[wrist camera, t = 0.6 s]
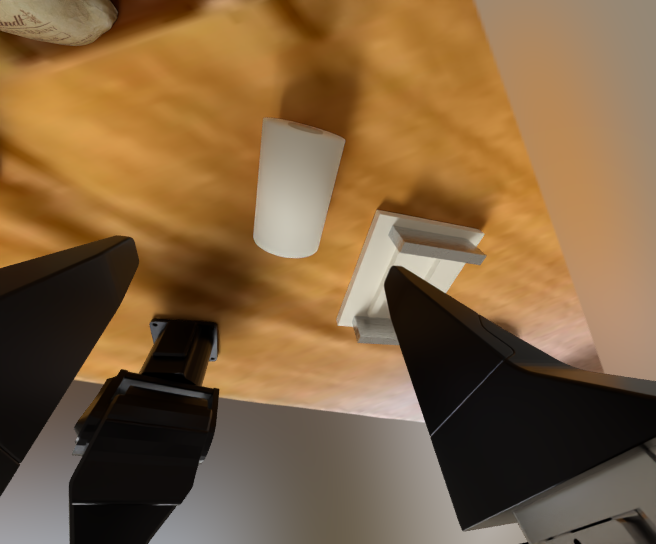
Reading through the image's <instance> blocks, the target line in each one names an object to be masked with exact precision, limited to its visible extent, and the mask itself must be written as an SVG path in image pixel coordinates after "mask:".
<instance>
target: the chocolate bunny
mask: <svg viewBox="0 0 656 544" xmlns="http://www.w3.org/2000/svg"><path fill="white" fill-rule="evenodd" d="M117 14H118V12H117V10H116V8H115V7H114V5H113V4H112V3H111V1H110V0H0V30H1V31H4V32H7V33H11V34H15V35H18V36H22V37H26V38H29V39H34V40H38V41H44V42H50V43H56V44H62V45H69V46H80V45H86V44H89V43H92V42H94V41H95V40H96V39H97V38H98V37H99V36H100V35H102V34H103V33H104V32H106V31H108V30H109V29H110V28H111V27H112V24H113V23H114V22H115V21H116V19H117Z"/></svg>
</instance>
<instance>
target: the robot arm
mask: <svg viewBox="0 0 656 544" xmlns="http://www.w3.org/2000/svg"><path fill="white" fill-rule="evenodd" d="M138 265H139V258H138V254H137V250H136V246H135V242H134V240H133V238H131V237H127V236H112V237H109V238H105V239H102V240H98V241H95V242H91V243H88V244H84V245H81V246H77V247H74V248H70V249H67V250H63V251H60V252H56V253H53V254H49V255H46V256H42V257H38V258H35V259H31V260H28V261H24V262H21V263H17V264H14V265H10V266H7V267H3V268H0V496H1V495H2V493H3V492H4V490H5V488H6V487H7V485H8V483H9V482H10V480H11V479H12V477H13V476H14V474H15V472H16V471H17V469H18V467H19V466H20V464H19V463H21V462H22V461H23V459H24V457H25V456H26V454H27V453H28V451H29V450H30V448H31V446H32V445H33V443H34V441H35V440H36V438H37V437H38V435H39V434H40V432H41V430H42V429H43V427H44V426H45V424H46V422H47V421H48V419H49V418H50V416H51V415H52V413H53V411H54V410H55V408H56V407H57V405H58V403H59V402H60V400H61V399H62V397H63V395H64V394H65V392H66V391H67V389H68V387H69V386H70V384H71V382H72V381H73V380H74V378H75V376H76V375H77V373H78V372H79V370H80V368H81V367H82V365H83V364H84V362H85V360H86V359H87V357H88V356H89V354H90V352H91V351H92V349H93V348H94V346H95V344H96V343H97V341H98V340H99V338H100V336H101V335H102V333H103V332H104V330H105V329H106V327H107V325H108V324H109V322H110V321H111V319H112V317H113V316H114V314H115V313H116V311H117V309H118V308H119V306H120V304H121V302H122V300H123V298H124V296H125V294H126V292H127V290H128V287H129V285H130V283H131V281H132V279H133V276H134V274H135V272H136V270H137V268H138ZM384 290H385V295H386V299H387V304H388V309H389V313H390V318H391V321H392V324H393V327H394V330H395V333H396V336H397V339H398V342H399V345H400V348H401V351H402V354H403V357H404V360H405V363H406V366H407V369H408V372H409V375H410V378H411V381H412V384H413V387H414V390H415V393H416V396H417V399H418V402H419V405H420V408H421V411H422V414H423V417H424V420H425V423H426V426H427V428H428V431H429V435H430V436H431V440H432V444H433V447H434V450H435V453H436V455H437V459H438V462H439V465H440V467H441V471H442V474H443V477H444V480H445V483H446V486H447V489H448V491H449V494H450V497H451V500H452V503H453V506H454V509H455V512H456V515H457V518H458V521H459V524H460V526H461V528H462V531H470V530H476V529H481V528H488V527H493V526H499V525H505V524H511V523H518V525H519V527H520V528H521V530H522V532H523V534H524V536H525V538H526V540H527V542H526V543H522V544H656V381H650V380H644V379H637V378H630V377H623V376H616V375H610V374H603V373H596V372H590V371H585V370H581V369H578V368H575V367H572V366H570V365H567V364H565V363H563V362H561V361H559V360H557V359H555V358H553V357H552V356H550V355H548V354H546V353H545V352H543V351H541V350H539V349H538V348H536V347H534V346H532V345H530V344H529V343H527V342H525V341H523V340H522V339H520V338H518V337H516V336H515V335H513V334H511V333H509V332H508V331H506V330H504V329H502V328H501V327H499V326H498V325H496V324H494V323H493V322H491V321H489V320H488V319H486V318H484V317H483V316H481V315H478V313H476V312H475V311H473V310H472V309H470V308H468V307H467V306H465V305H464V304H462V303H460V302H459V301H457V300H455V299H454V298H452V297H451V296H449V295H447V294H446V293H444V292H443V291H441V290H439V289H438V288H436V287H435V286H433V285H431V284H430V283H428V282H427V281H425V280H423V279H422V278H420V277H419V276H417V275H415V274H414V273H412V272H411V271H409V270H407V269H406V268H404V267H402V266H395V265H393V266H391V268H390V270H389V272H388V274H387V277H386V279H385V282H384ZM149 325H150V329H151V334H152V338H153V342H154V345H153V347H152V349H151V351H150V353H149V355H148V357H147V359H146V360H145V362H144V364H143V366H142V368H141V370H140V372H139V374H137V373H132V372H128V370H123V369H121V370H120V372H119V373H118V375H117V376H115V377H113V378H109V379H107V380H106V382H105V383H104V385H103V387H102V388H101V390H100V392H99V393H98V395H97V396H96V398H95V399H94V400H93V402H92V403H91V404H90V406H89V407H88V408H87V410H86V411H85V412H84V413H83V415H82V416H81V417H80V419H79V420H78V422H77V423H76V425H75V427H74V430H75V432H76V434H77V439H76V441H75V443H77V444H76V446H75V448H74V451H73V453H72V455H78V456H82V459H81V460H80V462H79V464H78V466H77V468H76V469H75V472H74V473H73V475H72V477H71V479H70V482H69V536H70V544H148V543H149V541H150V540H151V539H152V537H153V536H154V535H155V533H156V532H157V531H158V529H159V528H160V527H161V526H162V524H163V523H164V521H165V520H166V519H167V518H168V517H169V515H170V514H171V513H172V511H173V510H174V509H175V507H176V506H177V505H180V504H181V503H182V502H183V500H184V499H185V497H186V496H187V494H188V493H189V492H190V490H191V489H192V487H193V483H194V479H195V475H196V470H197V468H198V464H201V463H202V462H203V461H204V459H205V457H206V455H207V453H208V451H209V448H210V445H211V443H212V439H213V436H214V432H215V427H216V419H217V409H218V398H219V389H217V388H213V389H212V388H207V387H202V383H203V380H204V376H205V373H206V369H207V366H208V362H209V361H216V360H217V357H218V334H217V324H216V323H213V322H199V321H183V320H168V319H152V320H151V322H150V324H149Z"/></svg>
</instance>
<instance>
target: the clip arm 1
mask: <svg viewBox="0 0 656 544" xmlns="http://www.w3.org/2000/svg"><path fill="white" fill-rule="evenodd" d="M352 324H353V328H354V331H355V335H356V339H357V342H358V343H371V344H389V345H399V342H398V339H397V336H396V333H395V330H394V327H393V324H392V321H391V319H389V318H377V317H376V318H370V317H365V316H354V318H353V320H352Z"/></svg>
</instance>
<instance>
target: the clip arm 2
mask: <svg viewBox="0 0 656 544" xmlns="http://www.w3.org/2000/svg"><path fill="white" fill-rule="evenodd" d="M388 236H389V237H390V239H391V240H392V242H393V243H394V245H395V246H396V248H397V249H398V251H399V252H400V253H404V254H411V255H418V256H424V257H431V258H437V259H444V260H450V261H457V262H463V263H470V264H476V265H481V263H482V262H483V260H484V259H485V258H486V256H487V255H485V254H484V253H483V252H482V251H481V250H480V249H478V248H477V247H476V246H475V245H474V244H473V243H471V242H470V241H469V240H468V239H465V238H460V237H454V236H448V235H443V234H437V233H432V232H426V231H421V230H415V229H410V228H404V227H399V226H393V225H392V227H391V230H390V232H389V234H388Z"/></svg>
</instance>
